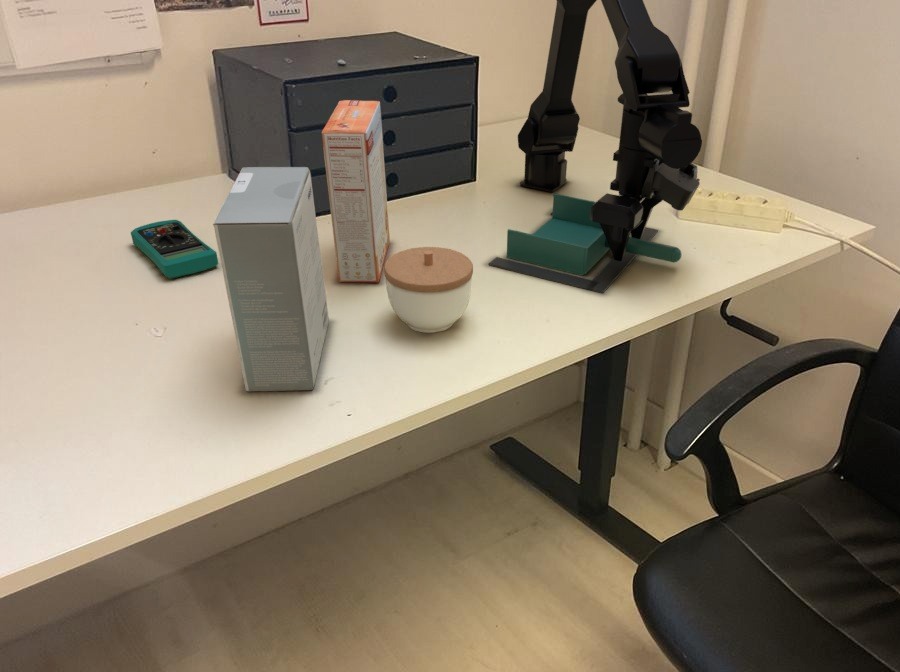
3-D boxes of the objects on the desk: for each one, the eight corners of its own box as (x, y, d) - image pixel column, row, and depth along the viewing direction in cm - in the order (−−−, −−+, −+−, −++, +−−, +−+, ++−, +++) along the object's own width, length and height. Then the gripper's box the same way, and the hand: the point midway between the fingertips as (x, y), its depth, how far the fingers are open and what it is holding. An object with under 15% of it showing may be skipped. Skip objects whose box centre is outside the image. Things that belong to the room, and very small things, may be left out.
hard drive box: (267, 322, 100) (242, 165, 89) (329, 321, 101) (313, 165, 90) (243, 393, 87) (211, 220, 76) (315, 392, 88) (293, 220, 77)
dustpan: (506, 257, 118) (507, 229, 116) (552, 218, 131) (554, 193, 128) (661, 294, 110) (665, 265, 107) (694, 249, 122) (699, 222, 120)
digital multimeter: (181, 233, 122) (177, 214, 120) (221, 268, 112) (217, 248, 111) (131, 245, 118) (127, 226, 116) (168, 282, 108) (163, 262, 107)
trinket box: (406, 350, 96) (402, 279, 90) (375, 310, 104) (370, 242, 98) (487, 331, 100) (488, 262, 95) (451, 294, 108) (450, 228, 103)
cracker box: (350, 241, 121) (338, 98, 110) (391, 242, 121) (382, 99, 110) (334, 283, 109) (318, 128, 98) (379, 284, 110) (368, 129, 98)
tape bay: (488, 265, 116) (488, 263, 115) (556, 210, 134) (556, 208, 134) (602, 293, 109) (603, 291, 109) (657, 231, 127) (658, 229, 127)
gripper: (678, 175, 99) (660, 288, 108) (716, 136, 113) (698, 239, 122) (593, 160, 103) (583, 270, 112) (640, 124, 117) (628, 224, 126)
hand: (627, 250), depth 118 cm, fingers open, 7 cm apart
